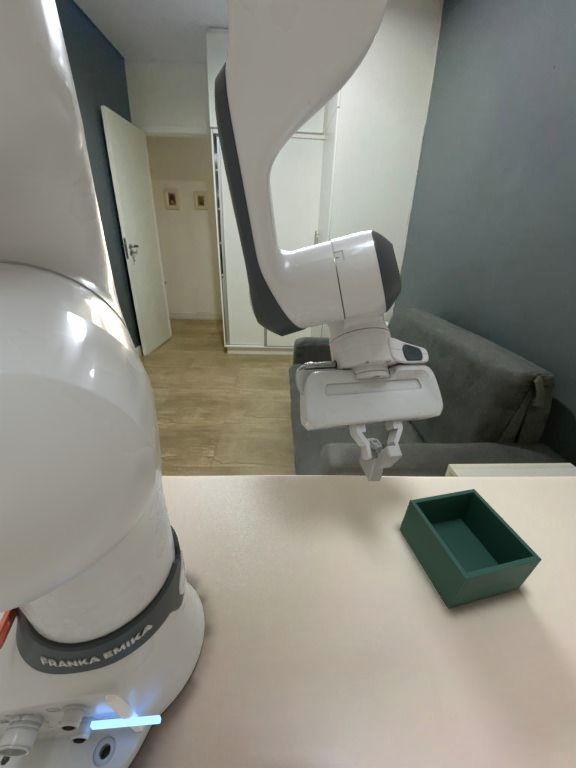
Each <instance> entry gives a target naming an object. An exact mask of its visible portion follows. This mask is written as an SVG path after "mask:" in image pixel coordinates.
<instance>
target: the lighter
mask: <svg viewBox="0 0 576 768" xmlns="http://www.w3.org/2000/svg"><path fill="white" fill-rule="evenodd" d="M366 439H367V440H368V442H369V443H370V444H371V445H376V446H377V453H378V458H376V459H370V460H364V459H363V458H362V453H361V452H360V456H359V460H358V463H359V465H360V467H361V469H362V471H363V473H364V474H365V477H366V479H367V480H368V482H370V483H371V482H380V481H381V479H382V475H383V471H384V469H387V468H388V469H389V468H392V466H394V465H395V464H396V463H397V462H398V461H399V460H400V459H401V458H403V453H402V451H401V450H402V449H401V448H400V444H399V445H395V446H387V447H385V448H384V449H383V447H382V443H381V442H380V440H379V438H374V437H370V438H369V437H368V438H366Z"/></svg>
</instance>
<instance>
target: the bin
mask: <svg viewBox="0 0 576 768" xmlns="http://www.w3.org/2000/svg"><path fill="white" fill-rule="evenodd" d="M405 510H406V511H405V512H404V516H403V518H402V521H401V524H400V526H399V530H400V532H401V533H402V535H403V537H404V538H405V540H406V542H407V543H408V545H409V547H410V548H411V550H412V552H413V553H414V555H415V556H416V558H417V559H418V561H419V563H420V565H421V566H422V568H423V570H424V571H425V572H426V574H427V576H428V578H429V580H430V581H431V583H432V584H433V586H434V587H435V589H436V591H437V592H438V594H439V596H440V597H441V599H442V600H443V602H444V604H445V605H446V607H447V608H448V609H450V608H453V607H458V606H461V605H464V604H467V603H472V602H475V601H478V600H482V599H486V598H489V597H492V596H496V595H500V594H504V593H507V592H510V591H514V590H518V589H520V588H521V587H522V586H523V584H524V583H525V582H526V581H527V579H528V578H529V577H530V576H531V574H532V573H533V571H534V570H535V569H536V568H537V566H538V565H539V564H540V563H541V561H542V560H543V559H542V558H541V557H540V556H539V554H537V553H536V552H535V550H533V548H532V547H530V545H529V544H528V543H527V542H526V541H525V540H524V539H523V538H522V537H521V536H520V535H519V534H518V533H517V532H516V531H515V530H514V529H513V528H512V526H510V524H509V523H508V522H506V521H505V519H504V518H503V517H502V516H501V515H500V514H499V513H498V512H497V511H496V510H495V509H494V508H493V507H492V506H491V505H490V504H489V503H488V502H487V501H486V500H485V498H484V497H483V496H482V495H480V494H479V492H478V491H477V490H476V489H475V488H471V489H466V490H465V489H464V490H460V491H454V492H448V493H443V494H437V495H431V496H427V497H421V498H416V499H410V500H409V503H408V505H407V507H406V509H405Z"/></svg>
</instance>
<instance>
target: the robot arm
mask: <svg viewBox="0 0 576 768" xmlns="http://www.w3.org/2000/svg"><path fill="white" fill-rule="evenodd" d="M226 1H227V2H226V3H227V17H228V33H227V34H228V37H227V38H228V39H227V40H228V41H227V51H226V61H225V62H224V64H223V65H222V66H221V68H220V70H219V72H218V73H217V75H216V77H215V79H214V94H213V95H214V112H215V119H216V129H217V134H218V139H219V144H220V150H221V157H222V161H223V166H224V171H225V176H226V182H227V186H228V192H229V196H230V201H231V205H232V210H233V215H234V219H235V224H236V228H237V233H238V237H239V242H240V247H241V252H242V256H243V260H244V265H245V270H246V277H247V282H248V298H249V303H250V306H251V310H252V314H253V315H254V317H255V319H256V322H257V324H258V325H260V326H261V327H262V328H263V329H265V330H267V331H269V332H271V333H273V334H275V335H277V336H280V337H285V336H289V335H292V334H294V333H298V332H301V331H304V330H306V329H307V328H308V329H309V328H314V327H317V326H322V325H326V326H327V327H328V331H329V339H328V347H329V352H330V359H331V360H328V361H327V360H326V361H318V362H313V361H308V362H304V363H303V365H301V366H299V367H298V368H297V369H296V371H295V374H294V378H295V386H296V389H297V391H298V392H299V393H300V395H299V415H300V416H299V418H300V425H301V426H302V427H303V428H304V429H305V430H306V431H308V432H311V431H321V430H331V429H339V428H340V429H341V428H348V429H349V434H350V436H351V438H352V440H353V441H354V442H355V443H356V444H357V446H358V447H360V454H361V453H362V458H363V459H364V460H370V459H376V458H378V453H377V446H376V445H371V444H370V443H369V442H368V440H367V439H368V438H367V437H366V436H365V433H366V432H367V426H369V425H380V424H384V428H385V431H386V432H389V434H388V438H387V441H386V443H381V445H382V450H383V449H384V448H385V447H387V446H395V445H399V446H400V444H399V442H400V439H401V438H402V437H401V436H402V433H403V430H404V426H403V422H409V421H420V420H427V419H432V418H436V417H439V416H441V414H442V412H443V410H444V402H443V397H442V394H441V390H440V387H439V384H438V380H437V378H436V375H435V373H434V371H433V369H432V368H431V367H429V366H428V365H426V363H427V362H429V360H430V358H429V353H428V351H427V349H426V348H425V347H422V346H418V345H415V344H411V343H408V342H404V341H402V340H400V339H397V338H395V337H392V335H391V331H390V329H389V327H388V325H387V323H386V320H385V316H384V315H385V313H388V312H389V311H390V310H391V309H392V307H393V306H394V304H395V302H396V301H397V299H398V297H400V295H401V294H402V293H401V292H402V286H403V285H402V278H401V273H400V268H399V265H398V261H397V257H396V253H395V249H394V245H393V243H392V242H391V241H390V240H389V239H388V238H386V237H385V236H384V235H382V234H381V233H379V232H377V231H375V230H374V229H373V230H372V229H370V230H363V231H357V232H354V233H349V234H345V235H342V236H339V237H335V238H331V240H328V241H323V242H320V243H319V242H318V243H316V244H312V245H309V246H305V247H302V248H297V249H293V250H285V249H281V248H280V246H279V242H278V234H277V226H276V218H275V212H274V210H275V209H274V203H273V194H272V188H271V187H272V185H271V172H272V169H273V165H274V163H275V161H276V159H277V157H278V155H279V154H280V152H281V150H282V149H283V148H284V147H285V146H286V144H287V143H288V142H289V140H290V139H291V138H292V137H294V135H295V134H296V133H297V132H299V130H300V129H301V128H302V127H303V126H305V124H306V123H308V122H309V121H310V120H311V119H312V118H313V117H314V116H315V115H317V113H319V112H320V111H321V110H322V109H323V108H324V107H325V106H326V105H327V104H328V103H329V102H331V100H333V99H334V97H335V96H336V95H337V94H338V93H340V91H341V90H342V89H343V88H344V87H345V85H347V83H348V82H349V80H350V79H351V78H352V77H353V76H354V74H355V73H356V71H358V69H359V67H360V66H361V64H362V63H363V61H364V60H365V58H366V56H367V55H368V53H369V51H370V49H371V48H372V46H373V44H374V41H375V39H376V37H377V34H378V32H379V30H380V28H381V25H382V21H383V20H384V18H385V17H384V16H385V13H386V9H387V6H388V3H389V0H226ZM57 7H58V6H57V3H56V0H0V768H129V767H130V765H132V763H133V761H134V759H135V758H136V756H137V754H138V753H139V751H140V749H141V747H142V746H143V744H144V741H145V739H146V737H147V735H148V734H149V732H150V729H151V728H152V727H153V725H159V724H161V721H162V717H161V715H162V714H163V713H164V712H165V711H166V710H167V709H168V707H169V706H170V705H171V704H172V703H173V702H174V701H175V699H176V698H177V697H178V696H179V695H180V693H181V692H182V690H183V689H184V687H185V686H186V685H187V682H188V681H189V679H190V678H191V676H192V674H193V672H194V670H195V667H196V666H197V663H198V660H199V658H200V655H201V652H202V648H203V644H204V638H205V629H206V621H205V620H206V618H205V611H204V607H203V603H202V600H201V598H200V596H199V594H198V592H197V591H196V589H195V588H194V587H193V585H191V584H190V582H189V581H187V569H186V564H185V563H186V562H185V558H184V553H183V550H182V549H181V544H180V541H179V537H178V534H177V532H176V530H175V529H174V527H173V525H172V524H171V521H170V517H169V511H168V505H167V501H166V497H165V491H164V485H163V460H162V449H161V448H162V447H161V439H160V431H159V424H158V416H157V408H156V402H155V394H154V390H153V386H152V382H151V380H150V377H149V375H148V373H147V371H146V369H145V366H144V364H143V361H142V359H141V358H140V356H139V353H138V351H137V348H136V346H135V344H134V342H133V338H132V336H131V333H130V331H129V328H128V326H127V323H126V321H125V318H124V315H123V311H122V309H121V306H120V305H121V304H120V302H119V298H118V294H117V289H116V286H115V279H114V276H113V271H112V267H111V263H110V258H109V252H108V249H107V248H108V247H107V244H106V243H107V242H106V239H105V234H104V228H103V223H102V219H101V214H100V208H99V203H98V199H97V193H96V188H95V182H94V178H93V171H92V167H91V162H90V157H89V156H90V155H89V152H88V146H87V140H86V134H85V128H84V122H83V118H82V113H81V109H80V105H79V100H78V95H77V91H76V86H75V82H74V78H73V74H72V73H73V72H72V68H71V64H70V60H69V56H68V52H67V47H66V43H65V38H64V33H63V30H62V25H61V21H60V16H59V13H58V8H57ZM107 747H110V750H109V753H108V755H107V756H106V757H105V758H102V755H103V752H104V751H105V749H106V748H107Z"/></svg>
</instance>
